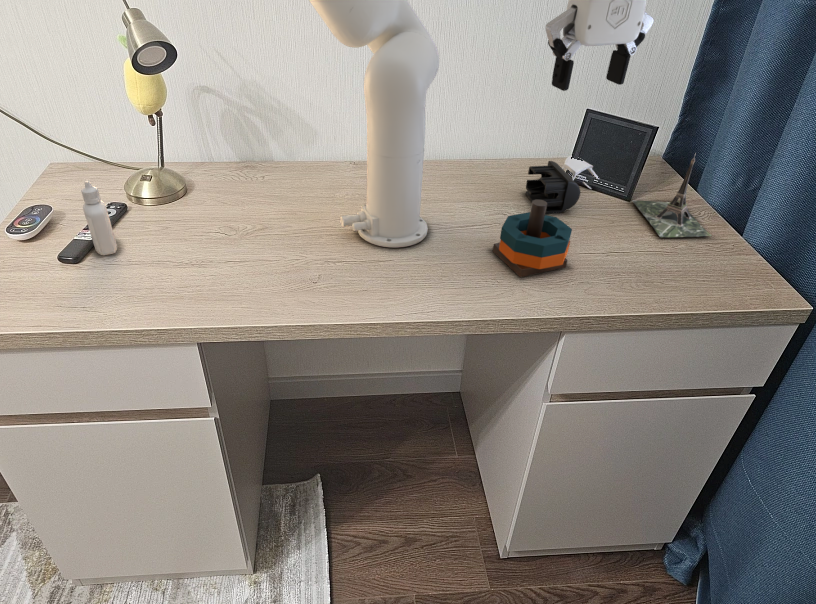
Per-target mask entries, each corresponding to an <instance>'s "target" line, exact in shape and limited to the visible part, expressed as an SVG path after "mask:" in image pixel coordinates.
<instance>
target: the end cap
mask: <svg viewBox="0 0 816 604" xmlns="http://www.w3.org/2000/svg"><path fill="white" fill-rule="evenodd" d="M527 175H529V176H530V175H540V177H539V178H538V179H537V178H536V179H526V183H525V189H526V191H525V195H524V196H526V198H527V199H528V200H529V201H530V203H532V201H533V200H543V201H546V202H547V208H546V213H545V215H551V214H552V215H554V214H561V213H564V212H566V211H567V210H569V209H572V207H574V206H575V205H576V204H577V203H578V201H579V199H580V197H581V187H580V185H579V184H578V183H577V182H576V181H575V179H574V180H573V179H572V178H573V177H572V176H571V175H570V174H569V173H568V172H566V171H565V170H564V169H562V166H561V165H560V164H558V163H557V162H555V161H553V160H548V161H547V165H534V166H533V165H531V166H529V167H528V171H527Z"/></svg>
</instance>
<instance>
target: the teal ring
mask: <svg viewBox="0 0 816 604" xmlns="http://www.w3.org/2000/svg"><path fill="white" fill-rule="evenodd" d="M529 216H530V211H528V212H523V213H517V214H511V215H508V216H507V217H506V219H505V221H504V223H503V224H502V226H501V230H500V235H499V240H502V241H503V242H504V243H505V244H506V245H507V246H509V247H510V248H511V249H512V250H513V251H514V252H519V253H523V254H527V255H532V256H536V257H541V258H543V257H547V256H552V255H557V254H562V253H565V251H566V248H567V246H568V243H569V241H571V237H572V236H571V235H572V232H573V228H571V227H570V226H569V225H568V224H566V223H565V222H563V221H562V220H561V219H559V218H558V217H557V216H552V215H549V214H545V217H544V222H543V227H542V232H545V233H547V234H548V235H550V236H551V237H546V238H536V237H531V236H527V235H524V234H523V233H522V232H521V231H526V230H527V226H528V221H529Z"/></svg>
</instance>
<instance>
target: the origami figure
mask: <svg viewBox="0 0 816 604" xmlns="http://www.w3.org/2000/svg"><path fill="white" fill-rule="evenodd" d="M572 154H573V153H572ZM572 154H570V155H569V156H568V157H566V158H565V160H564V162H563V166H561V168H562V169H563V170H564V169H566V170H567V171H568V170H569V171H570V174H571V175H572V177H571V178H572V179H573V180H574V181H575V179H576V177H577V176H578V175H579V174H580V173H582V172H584V171H585V170H587V171H588V172H589V173H590V174H591V175H592V176H593V175H594V176H593V177H596V179H598V180H600V177H599V176H598V174H596V172H595V171H594V169H593V168H594V165H592V164H590V163H589V162H587V161H585V160H583V161H581V160H577V159H574V158H572V159H571V157H572ZM598 177H599V178H598ZM582 184H584V185H585V186H586V187H587V188H588V189H589V190H592V189H593V188H592V187H591V186H590V185H588V183H585V182H584V181H582Z"/></svg>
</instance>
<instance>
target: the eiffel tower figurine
mask: <svg viewBox="0 0 816 604" xmlns="http://www.w3.org/2000/svg"><path fill="white" fill-rule="evenodd" d="M696 154H697V153H696V152H695V154H694V156H693V158H691V160H690V163H689V167H688V168H687V171H686V174H685V176H684V178H683V181H682V183H681V185H680V187H679V189H678V191H676V193H675V196H674V197H673V199H672V200H671V201H654V200H653V201H652V200H651V201H650V200H639V199H638V200H636V199H632V200H631V201H632V203H633V204H634V205H635V207H636V208H637V210H639V212H640V213H641V214H642V215H643V216H644V217H645V219H646V220H647V221H648V223H649V224H650V225H651V227H652V228H653V230H654V231H655V233H656V234H657V236H659V238H690V237H693V238H694V237H713V235H712V234H711V233H710V232H709V231H708V230H706V229H705V228H704V227H703V226H702V225H701V224H700V222H699V221H698V220H697V219H696V218H695V217H694V216H693V215H692V214H691V213H690V211H689V208H688V205H689V203H687V194H688V192H687V190H688V186H689V182H690V177H691V174H692V170H693V167H694V164H695V162H696V158H695V157H696ZM679 199H680V200H679Z"/></svg>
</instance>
